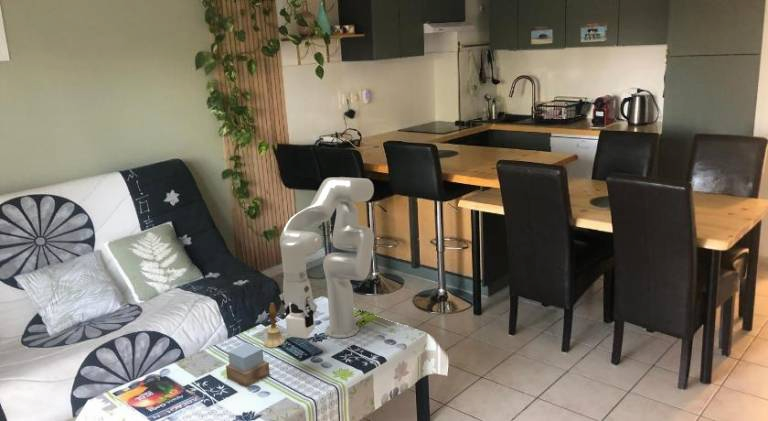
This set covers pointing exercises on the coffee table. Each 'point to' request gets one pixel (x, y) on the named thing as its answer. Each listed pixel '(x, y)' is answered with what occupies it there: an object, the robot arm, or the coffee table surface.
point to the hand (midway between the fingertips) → (300, 322)
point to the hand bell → (273, 331)
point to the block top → (245, 357)
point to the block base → (248, 374)
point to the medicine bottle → (297, 323)
